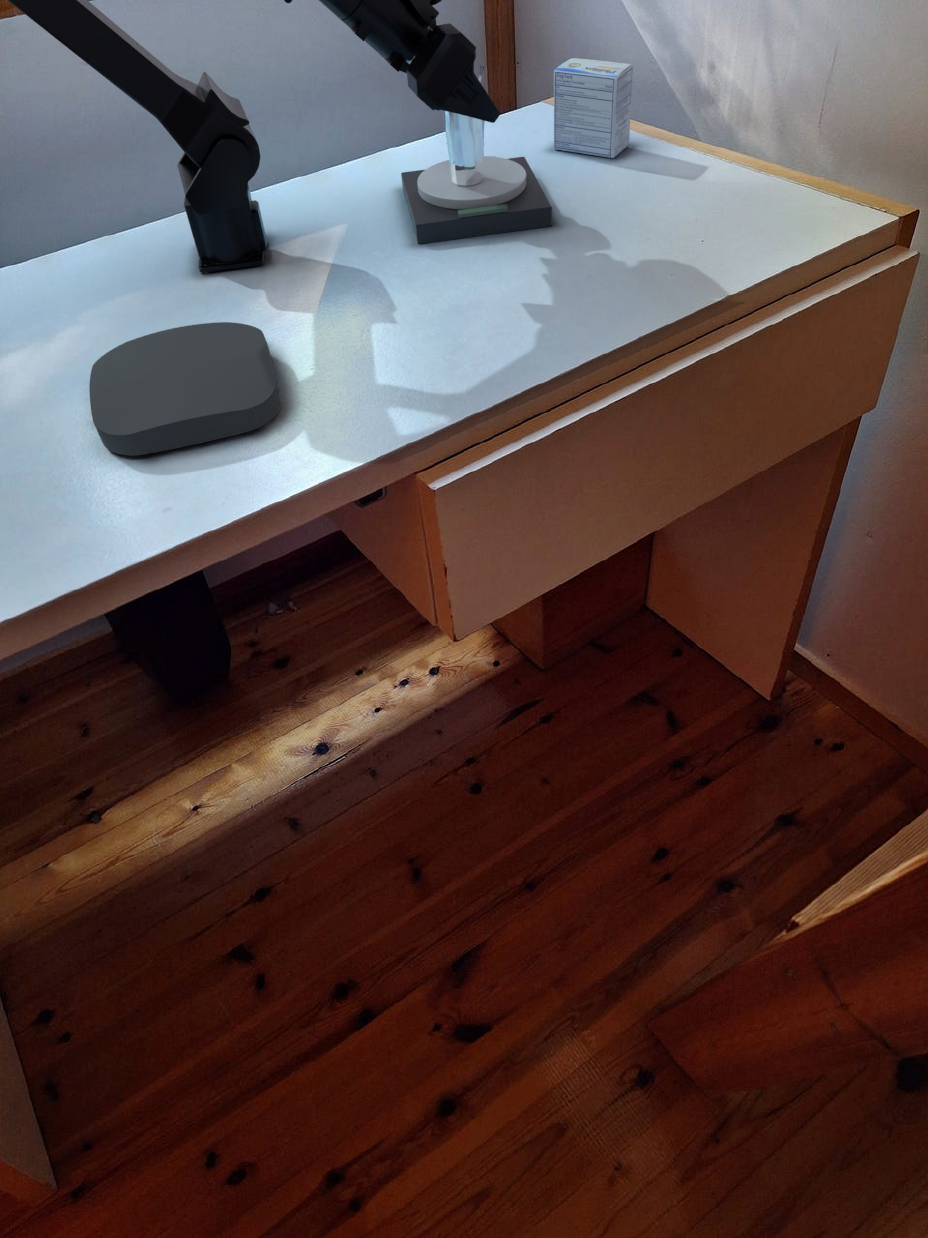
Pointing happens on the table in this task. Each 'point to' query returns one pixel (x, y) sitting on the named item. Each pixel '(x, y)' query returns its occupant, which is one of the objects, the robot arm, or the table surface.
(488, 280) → the table surface
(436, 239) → the scale
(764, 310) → the table surface
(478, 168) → the milkshake
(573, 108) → the medicine box
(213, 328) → the media streaming box
